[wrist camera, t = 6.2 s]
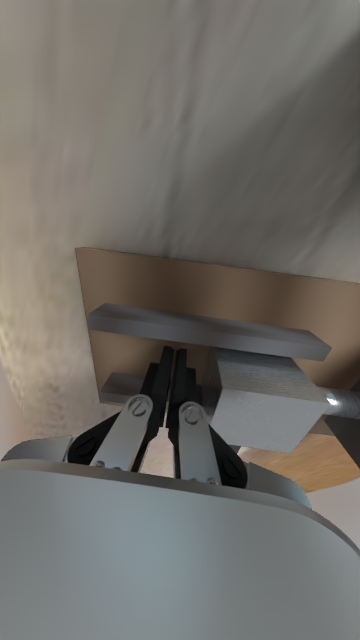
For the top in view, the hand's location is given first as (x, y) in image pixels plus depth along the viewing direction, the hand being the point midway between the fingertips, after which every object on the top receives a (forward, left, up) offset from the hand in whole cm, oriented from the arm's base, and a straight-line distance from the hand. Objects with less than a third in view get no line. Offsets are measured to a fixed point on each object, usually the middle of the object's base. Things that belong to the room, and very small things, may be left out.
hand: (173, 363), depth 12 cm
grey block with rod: (+2, +8, -1) cm, 8 cm away
